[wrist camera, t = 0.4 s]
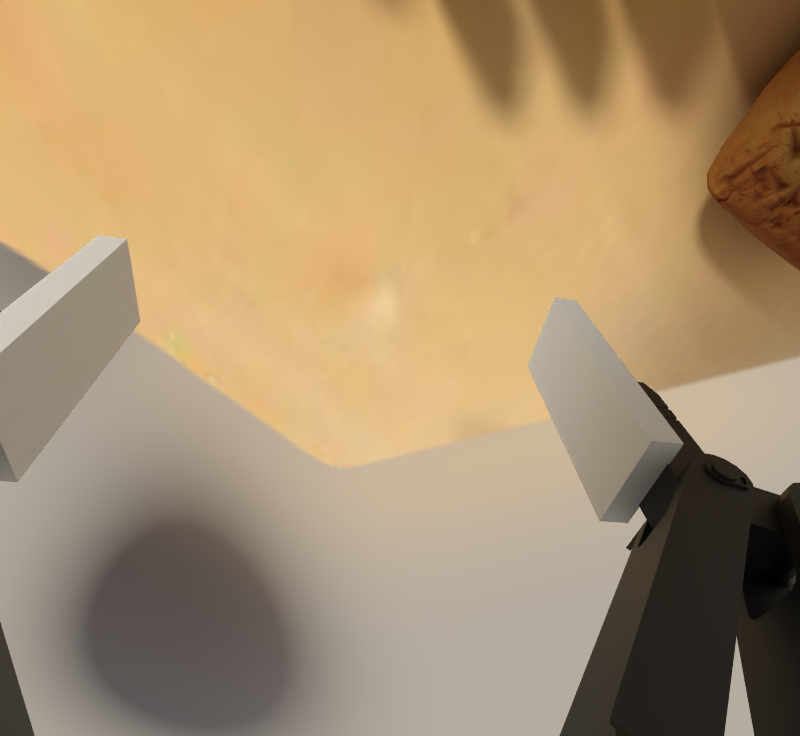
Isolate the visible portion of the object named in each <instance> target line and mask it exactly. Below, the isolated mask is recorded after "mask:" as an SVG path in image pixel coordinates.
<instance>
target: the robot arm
mask: <svg viewBox="0 0 800 736" xmlns="http://www.w3.org/2000/svg"><path fill="white" fill-rule="evenodd" d="M139 322H140V317H139V311H138V304H137V298H136V292H135V286H134V279H133V273H132V267H131V260H130V254H129V248H128V241H127V239H123V238H115V237H108V236H101V235H98V236H97V237H96V238H94V239H93V240H92V241H91V242H89V243H88V244H87V245H85V246H84V247H83V248H82V249H80V250H79V251H78V252H77V253H75V254H74V255H73V256H71V257H70V258H69V259H68V260H66V261H65V262H64V263H63V264H61V265H60V266H59V267H57V268H56V269H55V270H54V271H52V272H51V273H50V274H49V275H47V276H46V277H45V278H43V279H42V280H41V281H40V282H38V283H37V284H36V285H35V286H33V287H32V288H31V289H30V290H28V291H27V292H26V293H25V294H23V295H22V296H21V297H19V298H18V299H17V300H16V301H14V302H13V303H12V304H10V305H9V306H8V307H7V308H5V309H4V310H3V311H0V481H11V482H18V481H19V480H20V478H21V477H22V476H23V474H24V473H25V472H26V470H27V469H28V467H29V466H30V465H31V464H32V462H33V461H34V460H35V459H36V457H37V456H38V455H39V453H40V452H41V451H42V449H43V448H44V447H45V445H46V444H47V443H48V442H49V440H50V439H51V438H52V436H53V435H54V434H55V432H56V431H57V430H58V428H59V427H60V426H61V424H62V423H63V422H64V421H65V419H66V418H67V417H68V415H69V414H70V413H71V411H72V410H73V409H74V408H75V406H76V405H77V404H78V402H79V401H80V400H81V398H82V397H83V396H84V394H85V393H86V392H87V390H88V389H89V388H90V386H91V385H92V384H93V383H94V381H95V380H96V379H97V377H98V376H99V375H100V373H101V372H102V371H103V370H104V368H105V367H106V366H107V364H108V363H109V362H110V360H111V359H112V358H113V356H114V355H115V354H116V352H117V351H118V350H119V349H120V347H121V346H122V345H123V343H124V342H125V341H126V339H127V338H128V337H129V335H130V334H131V333H132V332H133V330H134V329H135V328H136V326H137V325H138V324H139ZM527 366H528V368H529V370H530V373H531V375H532V377H533V379H534V381H535V383H536V385H537V388H538V390H539V392H540V394H541V396H542V398H543V400H544V403H545V405H546V407H547V409H548V411H549V413H550V415H551V418H552V420H553V422H554V424H555V426H556V428H557V430H558V433H559V435H560V437H561V439H562V441H563V443H564V445H565V448H566V450H567V452H568V454H569V456H570V458H571V461H572V463H573V465H574V467H575V469H576V471H577V473H578V476H579V478H580V480H581V482H582V484H583V486H584V488H585V490H586V493H587V495H588V497H589V499H590V501H591V503H592V506H593V508H594V509H595V512H596V514H597V516H598V519H599V520H600V521H608V522H623V523H628V522H629V520H630V519H631V518H632V516H633V515H634V514H635V512H636V510H637V509H638V508H639V507H640V508H641V510H642V512H643V514H644V515H645V517H646V519H647V520H646V522H645V523H644V524H643V526H642V527H641V528H640V530H639V531H638V532H637V534H636V535H635V537H634V538H633V539H632V541H631V542H630V543H629V545H628V546H627V547H626V548H627V549H629V550H632V551H631V553H630V556H629V559H628V561H627V564H626V566H625V569H624V572H623V574H622V577H621V579H620V582H619V585H618V587H617V589H616V592H615V595H614V597H613V600H612V602H611V605H610V608H609V610H608V613H607V615H606V618H605V621H604V623H603V626H602V628H601V631H600V633H599V636H598V638H597V641H596V644H595V646H594V649H593V651H592V654H591V656H590V659H589V662H588V664H587V667H586V669H585V672H584V674H583V677H582V680H581V682H580V685H579V687H578V690H577V692H576V695H575V698H574V700H573V703H572V706H571V708H570V710H569V713H568V716H567V718H566V721H565V723H564V726H563V729H562V731H561V734H560V736H724V732H725V723H726V716H727V708H728V700H729V691H730V684H731V675H732V667H733V659H734V651H735V643H736V635H737V640H738V646H739V651H740V657H741V662H742V668H743V674H744V680H745V685H746V691H747V697H748V702H749V707H750V713H751V719H752V724H753V730H754V736H800V483H793V484H792V485H790V486H789V487H788V488H787V489H786V490H785V491H784V492H783V493H782V494H781V495H777V494H774V493H771V492H768V491H764V490H761V489H758V488H755V487H753V484H752V482H751V481H750V479H749V478H748V477H747V475H746V474H745V473H744V472H742V471H741V470H740V469H739V468H738V467H737V466H735V465H733V464H732V463H730V462H729V461H727V460H725V459H723V458H720V457H717V456H715V455H711V454H705V453H703V451H702V450H701V449H700V447H699V446H698V445H697V443H696V442H695V441H694V440H693V438H692V437H691V436H690V434H689V433H688V432H687V431H686V429H685V428H684V427H683V426H682V424H681V423H680V422H679V421H677V420H676V417H675V415H674V414H673V413H672V411H671V410H668V406H667V405H666V404H665V403H664V401H663V400H662V399H661V397H660V396H659V395H658V394H657V393H656V392H654V391H653V390H652V389H650V388H649V387H648V386H647V385H645V384H644V383H642V382H637V381H636V380H635V378H634V377H633V376H632V374H631V373H630V372H629V370H628V369H627V368H626V366H625V365H624V364H623V362H622V361H621V360H620V358H619V357H618V356H617V354H616V353H615V352H614V350H613V349H612V348H611V346H610V345H609V344H608V342H607V341H606V340H605V338H604V337H603V336H602V334H601V333H600V332H599V330H598V329H597V328H596V326H595V325H594V324H593V322H592V321H591V320H590V318H589V317H588V316H587V314H586V313H585V312H584V310H583V309H582V308H581V306H580V305H579V304H578V302H577V301H575V300H568V299H560V298H554V300H553V303H552V305H551V308H550V310H549V313H548V315H547V318H546V320H545V323H544V325H543V328H542V330H541V333H540V335H539V338H538V340H537V343H536V345H535V348H534V350H533V353H532V355H531V358H530V360H529V363H528V365H527ZM0 736H34V733H33V729H32V726H31V722H30V719H29V716H28V713H27V709H26V706H25V703H24V699H23V696H22V693H21V689H20V686H19V683H18V680H17V676H16V673H15V669H14V667H13V663H12V659H11V656H10V653H9V650H8V646H7V643H6V640H5V637H4V633H3V630H2V626H1V623H0Z"/></svg>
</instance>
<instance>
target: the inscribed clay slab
mask: <svg viewBox="0 0 800 736" xmlns="http://www.w3.org/2000/svg"><path fill="white" fill-rule="evenodd" d="M707 186H708V190H709V191H710V193H711V194H712V195H713V197H714V198H715V199H716V200H717V201H718V202H719V203H720V204H721V205H722V206H723V208H725V209H726V210H728V211H729V212H730V213H732V214H733V215H734V216H735V217H736V218H737V219H738V220H739V221H740V222H741V223H742V224H743V225H744V226H745V227H746V228H747V229H748V230H749V231H750V232H751V233H752V234H753V235H755V236H756V237H757V238H758V239H759V240H761V241H762V242H763V243H764V244H766V245H767V246H768V247H769V248H771V249H772V250H773V251H774V252H776V253H777V254H778V255H779V256H781V257H782V258H783V259H785V260H786V261H787V262H789V263H790V264H791V265H793V266H794V267H795V268H797V269H798V270H800V49H799V50H798V51H797V52H796V53H795V54H794V55H793V57H792V58H791V59H790V60H789V61H788V62H787V63H786V64H785V65H784V66H783V67H782V68H781V70H780V71H779V72H778V73H777V74H776V75H775V76H774V77H773V79H772V80H771V81H770V82H769V84H768V85H767V86H766V87H765V89H764V90H763V91H762V92H761V94H760V95H759V96H758V98H757V99H756V101H755V102H754V104H753V105H752V107H751V109H750V110H749V112H748V114H747V115H746V117H745V118H744V119H743V121H742V122H741V123H740V124H739V125H738V126H737V128H736V129H735V130H734V131H733V133H732V134H731V135H730V137H729V138H728V139H727V141H726V142H725V144H724V145H723V147H722V148H721V150H720V152H719V154H718V155H717V157H716V158H715V160H714V162H713V163H712V165H711V167H710V168H709V171H708V174H707Z"/></svg>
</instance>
